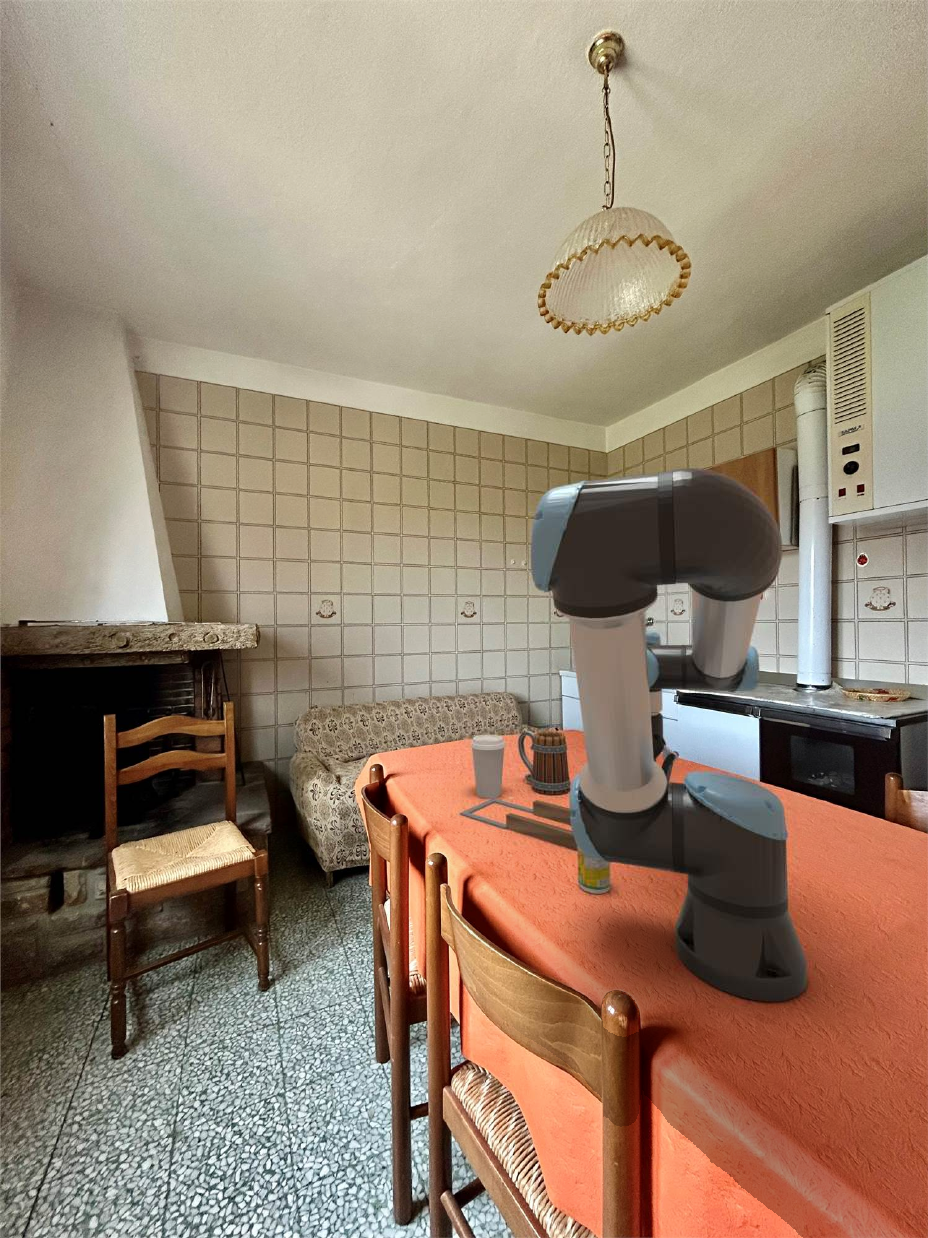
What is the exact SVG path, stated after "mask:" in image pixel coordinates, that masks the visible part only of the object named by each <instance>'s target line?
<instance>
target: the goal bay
mask: <svg viewBox="0 0 928 1238" xmlns="http://www.w3.org/2000/svg"><path fill="white" fill-rule="evenodd" d="M492 804H498V805H501V806H505V807H508V808H511V809H516V810H519V811H523V812H526V813H529V814H533V808H530V807H527V806H523V805H519V804H516V803H511V802H508V801H505V800H501V799H498V798H492V799H487V801H484V802H481V803H479V804H477V805H475V806H473V807H469V808H468V809H466V810H463V811H461V812H459V816H463V817H466V818H469V819H471V820H472V819H473V820H476V821H478V822H482V823H485V824H487V825H490V826H494V827H497V828H499V829H502V830H503V829H504V830H507V829H506V823H503V822H500V821H497V820H493V819H490V818H488V817H484V816H481V815H478V814H474V813H475V812H476V811H479V810H482V809H484V808H486V807H488V806H490V805H492Z"/></svg>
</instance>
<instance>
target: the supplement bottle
mask: <svg viewBox="0 0 928 1238" xmlns="http://www.w3.org/2000/svg"><path fill="white" fill-rule="evenodd" d="M577 880H578V886H579V887H580V888H581V889H582V890H583V891H585V892H587V893H590V894H594V895H595V894H596V895H600V894H605V893H607V892H608V891H609V890H610V889H611V885H612V884H611V863H610V862H606V861H604V860H601V859H597V858H593V857H589V856H587V855H585V854H584V853H583V852H582V851H581V850H580V849H579V847H578V851H577Z"/></svg>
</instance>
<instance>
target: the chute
mask: <svg viewBox="0 0 928 1238" xmlns="http://www.w3.org/2000/svg"><path fill="white" fill-rule="evenodd" d="M532 809H533V813H532V816H533V815H534V816H537V817H541V818H545V819H547V820H551V821H553V822H558V823H561V824H565V825H569V826H571V820H570V817H571V811H570V807H566V806H562V805H558V804H554V803H550V802H545V801H542V800H539V799H536V800H533V802H532ZM505 824H506V829H505V830H510V831H512V832H516V833H518V834H522V835H525V836H528V837H531V838H534V839H538V840H541V841H544V842H547V843H550V844H553V845H556V846H560V847H563V848H566V849H569V850H571V851H575V852H578V846H577V844H576V841H575V839H574V835H573V832H572V829H571V830H570V829H567V828H564V827H560V826H557V825H553V824H550V823H547V822H543V821H539V820H536V819H533V818H529V817H526V816H523V815H519V814H515V813H512V812H509V813H507V814H506V815H505Z"/></svg>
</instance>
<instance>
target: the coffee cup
mask: <svg viewBox="0 0 928 1238" xmlns="http://www.w3.org/2000/svg"><path fill="white" fill-rule="evenodd" d="M469 746H470V748H471V752H472V761H473V769H474V781H475V790H476V791H475V792H476V796H477V797H479V798H482V799H487V800H491V799H493V798H494V799H498V798H500V797H501V796H502V784H503V769H504V757H505V755H504V754H505V748H506V747H507V745H506V742H505V740H504V738H503V736H502V735H495V734H482V735H477V736H473V738H472V741H471V742H470V744H469Z"/></svg>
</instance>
